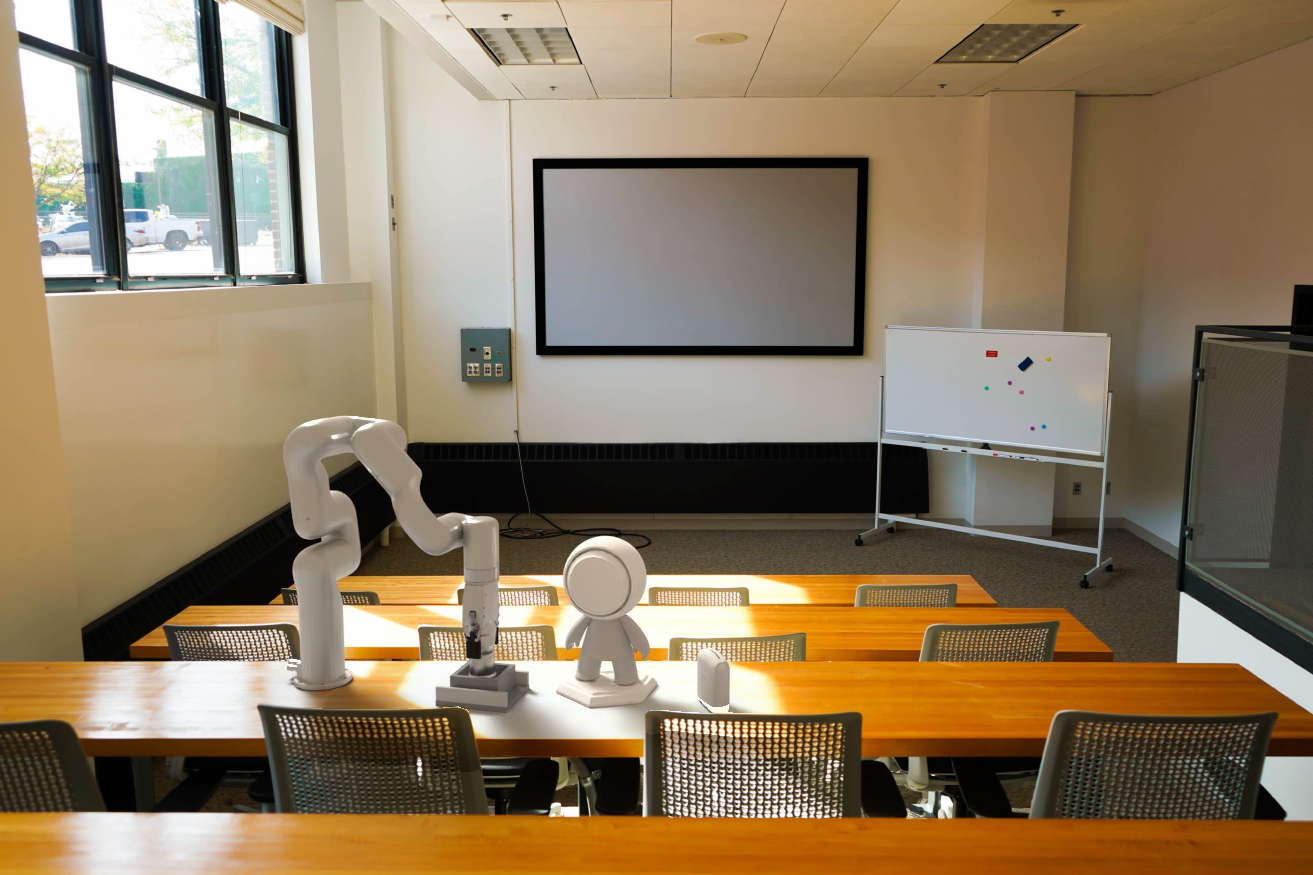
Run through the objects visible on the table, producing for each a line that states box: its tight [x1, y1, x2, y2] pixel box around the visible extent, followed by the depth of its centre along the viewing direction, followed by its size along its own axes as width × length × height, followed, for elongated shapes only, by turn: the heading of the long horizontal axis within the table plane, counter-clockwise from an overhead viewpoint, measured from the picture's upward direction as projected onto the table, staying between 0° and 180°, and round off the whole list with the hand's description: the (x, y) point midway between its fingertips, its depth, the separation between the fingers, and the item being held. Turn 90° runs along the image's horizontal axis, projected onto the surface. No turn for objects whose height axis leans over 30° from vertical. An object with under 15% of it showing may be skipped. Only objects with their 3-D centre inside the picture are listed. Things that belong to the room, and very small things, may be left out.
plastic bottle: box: [468, 619, 498, 678], centre depth 211 cm, size 6×7×20 cm
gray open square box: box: [435, 659, 530, 713], centre depth 212 cm, size 16×14×6 cm
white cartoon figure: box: [555, 535, 658, 709], centre depth 215 cm, size 20×23×35 cm
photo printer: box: [696, 647, 731, 707], centre depth 207 cm, size 10×4×12 cm, turn 20°
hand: (482, 650), depth 211 cm, fingers open, 9 cm apart
